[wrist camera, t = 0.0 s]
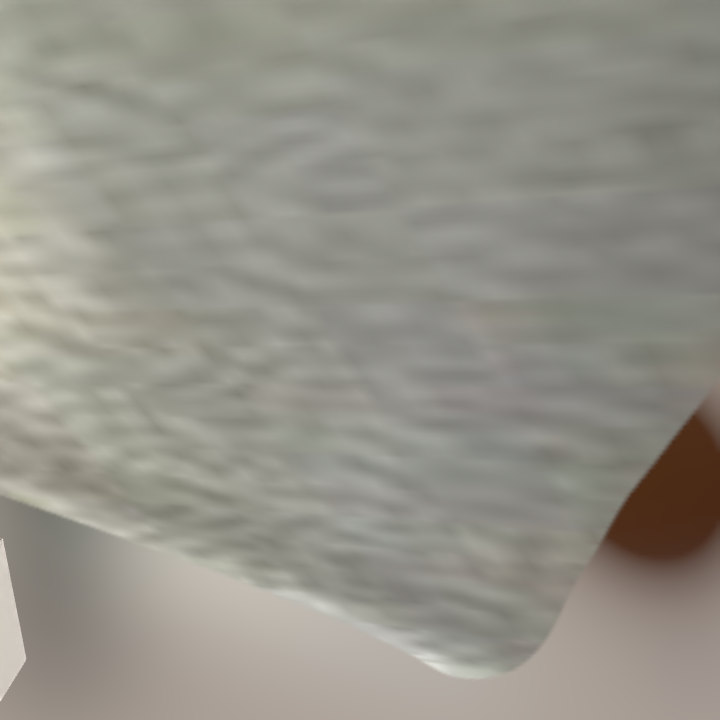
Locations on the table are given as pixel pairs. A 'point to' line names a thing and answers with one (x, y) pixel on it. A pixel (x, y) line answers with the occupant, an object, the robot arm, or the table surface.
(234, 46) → the table surface
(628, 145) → the table surface
